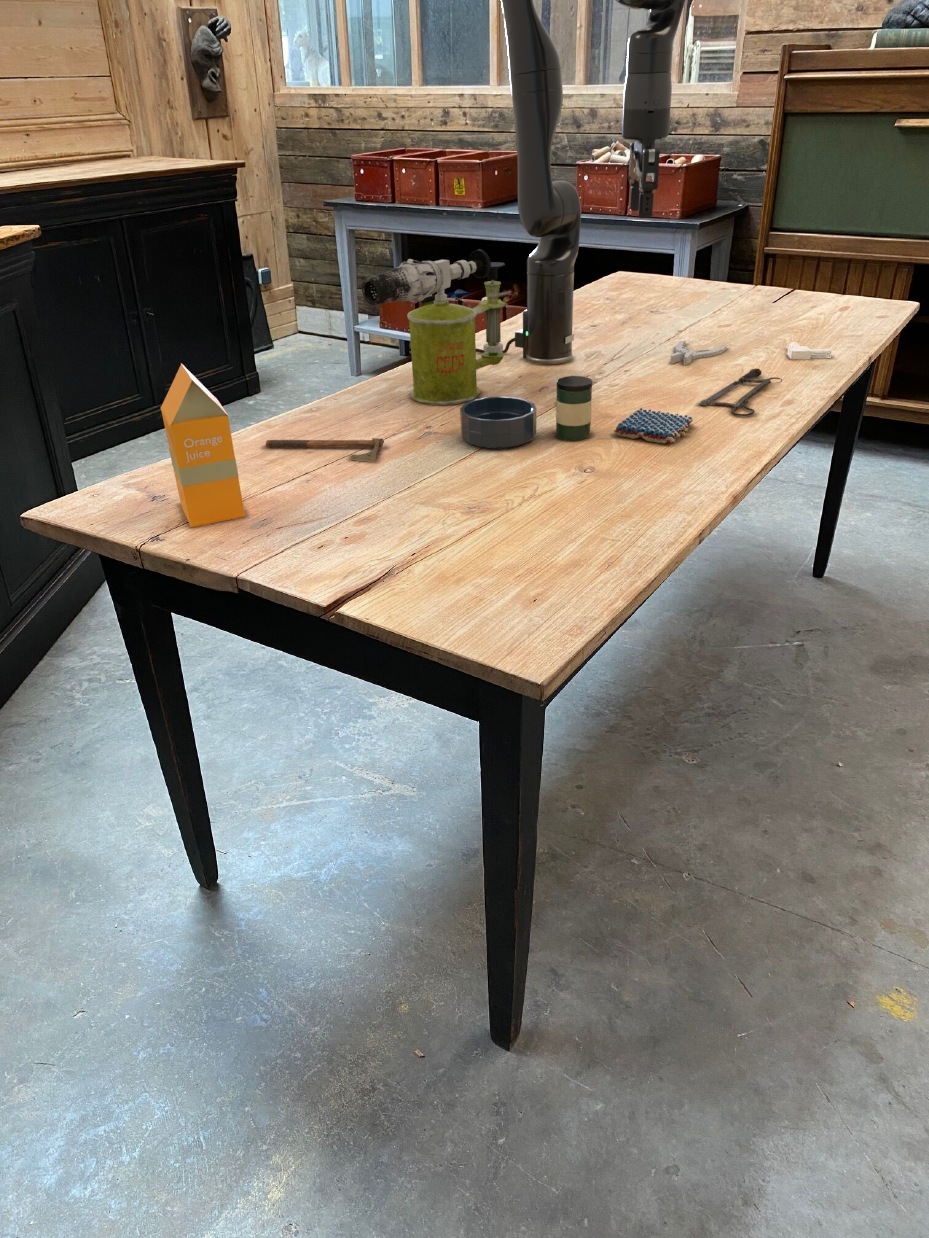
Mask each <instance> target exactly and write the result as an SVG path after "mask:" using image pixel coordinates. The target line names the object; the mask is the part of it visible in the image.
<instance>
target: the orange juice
mask: <svg viewBox="0 0 929 1238" xmlns="http://www.w3.org/2000/svg"><path fill="white" fill-rule="evenodd" d="M160 411H161V415H162V416H161V417H162V420H163V426H164V430H165V434H166V440H167V444H168V445H167V446H168V451H169V455H170V461H171V465H172V469H173V473H174V478H175V483H176V489H177V493H178V496H179V502H180V506H181V508H182V511H183V513H184V515H185V517H186V520H187V522H188V524H189V527H190V528H194V527H195V528H196V527H201V526H204V525H210V524H215V523H220V522H226V521H229V520H230V521H231V520H234V519H235V520H236V519H239V518H246V514H245V508H244V502H243V497H242V491H241V484H240V478H239V477H240V476H239V472H238V465H237V459H236V455H235V450H234V444H233V438H232V432H231V425H230V419H229V414H228V413H227V411H226V409H225V408H224V407H223V406H222V404H221V403H220V401H219V400H218V398H217V397H216V396H214V395H213V393H211V392H210V390H208V388H207V387H206V386H204V385H203V383H202V382H201V381H200V380H199V379H198V378H197V377H196V376H195V375H194V374H193V373H191V371H190V370H189V369H187V367H186V366H185V365H184V364H183V363H181V362H180V366H179V368H178V370H177V372H176V374H175V377H174V379H173V380H172V383H171V385H170V387H169V389H168V392H167V394H166V396H165V397H164V400H163V402H162V404H161V406H160Z"/></svg>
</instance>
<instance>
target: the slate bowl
mask: <svg viewBox="0 0 929 1238" xmlns="http://www.w3.org/2000/svg"><path fill="white" fill-rule="evenodd" d="M537 409H538V408H537V407H536V404H535V403H534V402H532V401H530V400H528V399H525V398H520V397H516V396H515V397H514V396H502V395H501V396H500V395H499V396H485V397H481V398H475V399H473V400H470V401H467V402H464V403H463V405H462V406H461V407H460V408H459V415H460V417H459V418H460V435H461V438H462V440H463V441H464V442H467V443H468V444H470V445H475V446H476V447H480V448H485V449H509V448H514V447H519V446H520V445H523V444H527V443H528V442H530V441H532V440H534V439H535V437H536V436H537V416H538V415H537V413H538V412H537Z"/></svg>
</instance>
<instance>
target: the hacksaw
mask: <svg viewBox="0 0 929 1238" xmlns="http://www.w3.org/2000/svg"><path fill="white" fill-rule="evenodd" d="M762 373H763V371H762V370H761V369H760V368H758V367H757V368H756V367H755V368H751V369H750V370H749V372H747V373H745V374H744V375H742V376H741V377H739V378H738V379H737V380H734V381H733V382H732V383H729V384H728V385H727V386H725V387H723V388H722V389H720V390H719V391H717V392H716V393H714V394H712V395H711V396H709V397H707V398H705V399H703V400H701V401H700V402H699V403H698V405H700V406H704V407H706V406H714V407H716V406H717V407H727V408H728V407H729V408H732V409H731V414H732V415H733V416H737V417H738V416H739V417H749V416H752V415H754V413H755V410H754V409H753V408H751V407H749V406H746V404H749V399H750V398H752V397H753V396H755V395H756V394H757V393H759V392H760V391H762V390H763V389H764V388H766V387H767V386H769V385H770V384H772V380H780V381H777V382H776V384H779V383H782V382H783V379H782V378H780V377H773V376H772V377H769V378H761V379H755V378H758V377H760V376H761V375H762ZM744 383H750V384H751V383H752V384H757V385H756V386H755V387H753V388H752V389H750V391H748V392H746V394H744V395H743V396H742V397H740V399H738V400H737V401H736V402H735V403H732V402H722V401H721V402H719V401H718V402H717V401H715V400H717V399H718V398H720V397H721V396H723V395H725V394H726V393H728V392H730V391H731V390H733V389H734V388H735V387H737V386H739V385H740V384H744ZM741 406H742V408H743V409H744V410H747V411H751V412H749V413H737V412H735V411H737V410H739V409H740V408H741Z"/></svg>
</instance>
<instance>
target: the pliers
mask: <svg viewBox="0 0 929 1238" xmlns="http://www.w3.org/2000/svg"><path fill="white" fill-rule="evenodd" d="M686 344H687V340H685V339H683V340H681V341H679V342H678V343H676V345H675V349H674V351H675V352H674V353H672V354H670V358H669V359H670V360H669V363H670V364H676V363H679V362H681V361H683V366H687V365H689V364H690V363H691V362H692V360H697V359H700V358H709V357H713V356H717V355H719V354H720V355H721V354H722V353H724V352H725V351H726V350H727V347H728V345H727V344H724V345H722V346H720V347H718V348H715V349H699V350H695V352H694V350H691V348H690V347H687V346H685V345H686Z"/></svg>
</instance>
